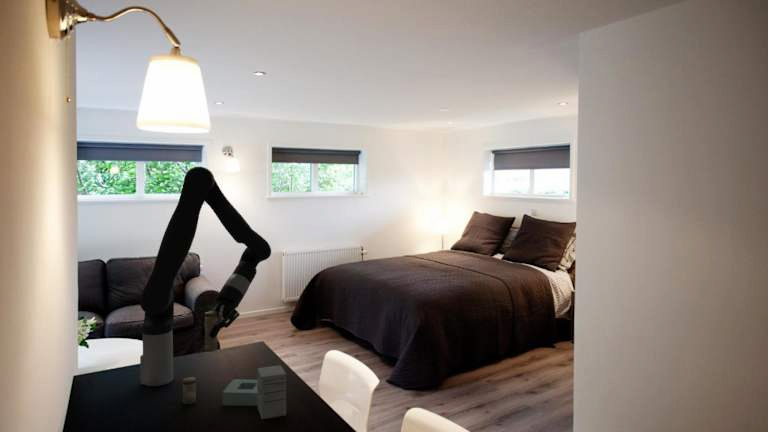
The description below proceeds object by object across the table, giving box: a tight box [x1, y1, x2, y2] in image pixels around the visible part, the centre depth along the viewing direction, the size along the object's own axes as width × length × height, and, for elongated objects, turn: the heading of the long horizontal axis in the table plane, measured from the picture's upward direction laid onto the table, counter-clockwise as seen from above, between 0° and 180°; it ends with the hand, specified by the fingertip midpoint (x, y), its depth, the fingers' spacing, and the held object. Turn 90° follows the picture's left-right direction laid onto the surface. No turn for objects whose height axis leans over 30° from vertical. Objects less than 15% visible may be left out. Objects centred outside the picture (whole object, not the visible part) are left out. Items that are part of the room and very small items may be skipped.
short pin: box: [182, 376, 197, 405], centre depth 149 cm, size 4×4×7 cm
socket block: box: [222, 378, 257, 407], centre depth 151 cm, size 12×10×4 cm
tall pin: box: [204, 311, 218, 353], centre depth 153 cm, size 4×4×12 cm
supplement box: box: [256, 364, 287, 420], centre depth 142 cm, size 7×7×13 cm
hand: (206, 336), depth 151 cm, fingers closed on tall pin, 3 cm apart
